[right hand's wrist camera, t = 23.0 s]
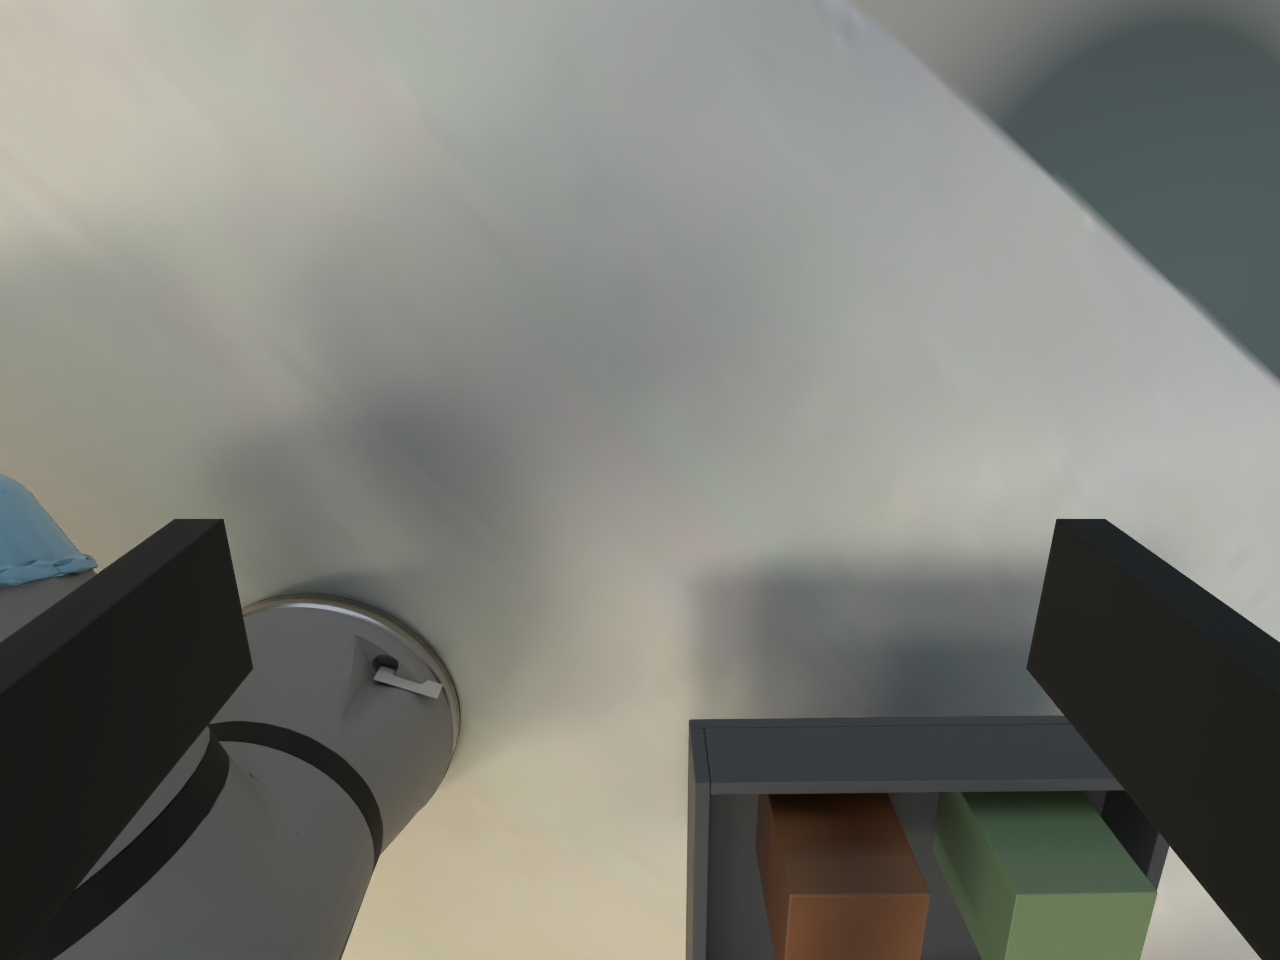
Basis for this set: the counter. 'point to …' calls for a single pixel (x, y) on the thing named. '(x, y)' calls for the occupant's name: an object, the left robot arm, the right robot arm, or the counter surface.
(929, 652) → the counter surface
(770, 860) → the walnut block
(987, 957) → the sage block
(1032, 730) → the tray
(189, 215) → the counter surface
